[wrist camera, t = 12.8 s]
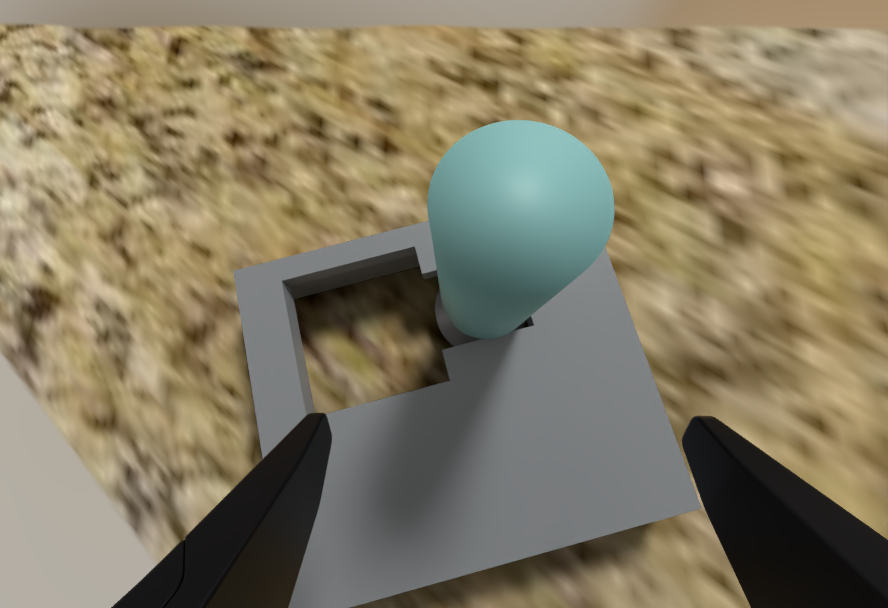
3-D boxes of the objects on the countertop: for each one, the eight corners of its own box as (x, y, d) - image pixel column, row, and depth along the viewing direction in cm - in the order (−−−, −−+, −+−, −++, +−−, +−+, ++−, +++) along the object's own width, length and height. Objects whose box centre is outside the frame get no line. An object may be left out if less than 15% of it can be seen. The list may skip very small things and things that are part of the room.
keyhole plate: (659, 486, 17) (701, 508, 14) (317, 582, 17) (288, 624, 14) (562, 210, 20) (581, 181, 17) (266, 287, 20) (233, 270, 17)
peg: (534, 342, 19) (670, 280, 7) (448, 365, 19) (438, 341, 7) (508, 260, 20) (591, 80, 8) (426, 281, 19) (384, 132, 8)
